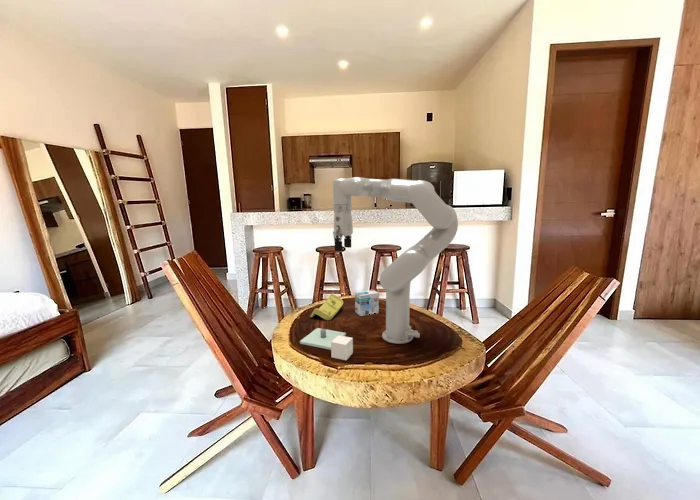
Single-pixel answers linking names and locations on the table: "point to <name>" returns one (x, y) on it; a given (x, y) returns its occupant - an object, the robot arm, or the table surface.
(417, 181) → the robot arm
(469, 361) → the table surface
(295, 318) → the table surface
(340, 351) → the off-white plain cube
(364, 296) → the light bulb box
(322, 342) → the stub plate
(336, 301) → the plastic component
